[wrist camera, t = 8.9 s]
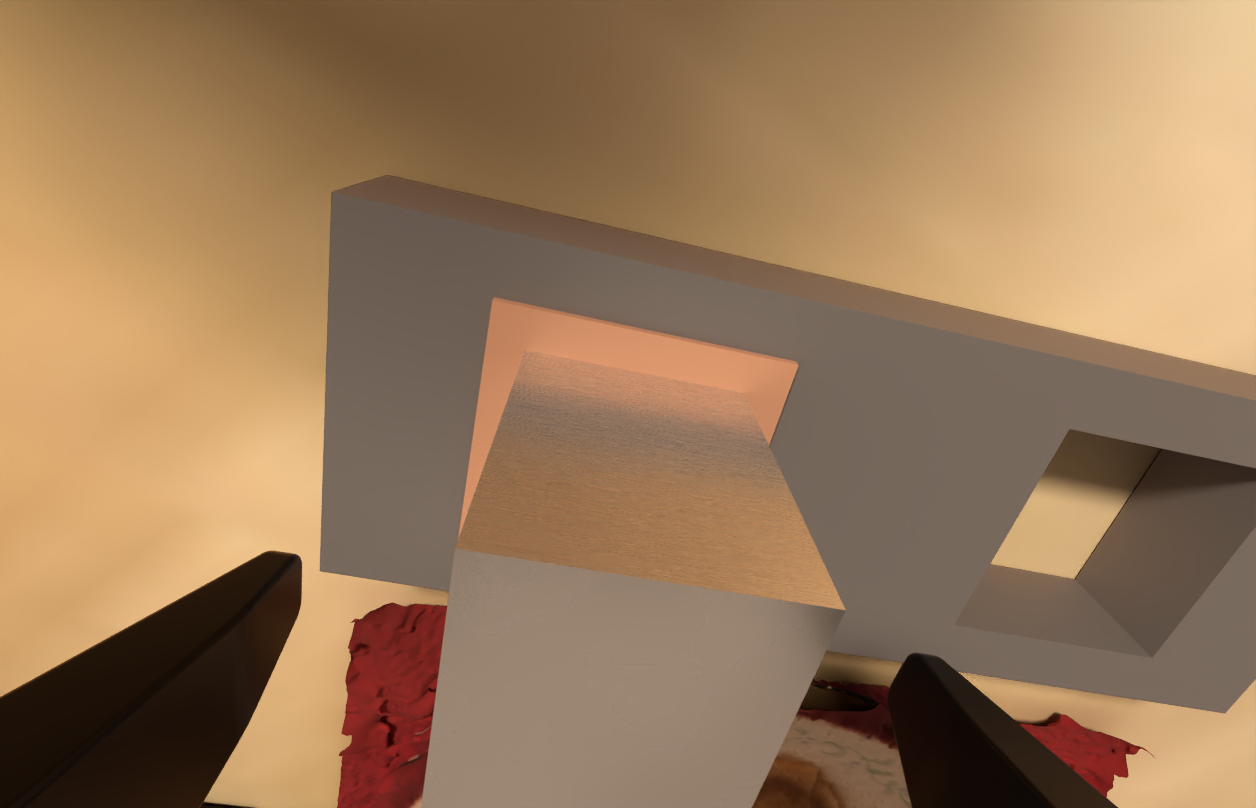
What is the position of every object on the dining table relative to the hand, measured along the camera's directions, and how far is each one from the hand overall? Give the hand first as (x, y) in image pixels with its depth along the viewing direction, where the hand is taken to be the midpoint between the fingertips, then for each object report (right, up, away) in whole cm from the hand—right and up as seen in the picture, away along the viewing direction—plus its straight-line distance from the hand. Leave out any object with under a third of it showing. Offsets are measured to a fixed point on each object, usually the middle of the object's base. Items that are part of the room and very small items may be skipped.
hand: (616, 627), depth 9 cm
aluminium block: (0, +2, +4) cm, 4 cm away
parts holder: (+6, +2, +8) cm, 10 cm away
